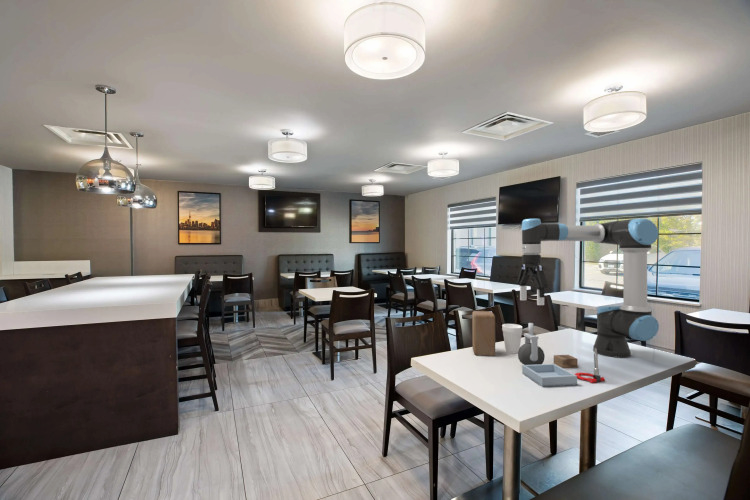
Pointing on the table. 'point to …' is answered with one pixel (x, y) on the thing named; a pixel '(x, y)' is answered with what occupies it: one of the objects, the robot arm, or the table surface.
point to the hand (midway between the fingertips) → (531, 302)
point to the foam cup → (512, 337)
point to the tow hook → (596, 371)
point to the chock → (565, 361)
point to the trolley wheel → (531, 349)
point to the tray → (549, 375)
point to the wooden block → (483, 333)
